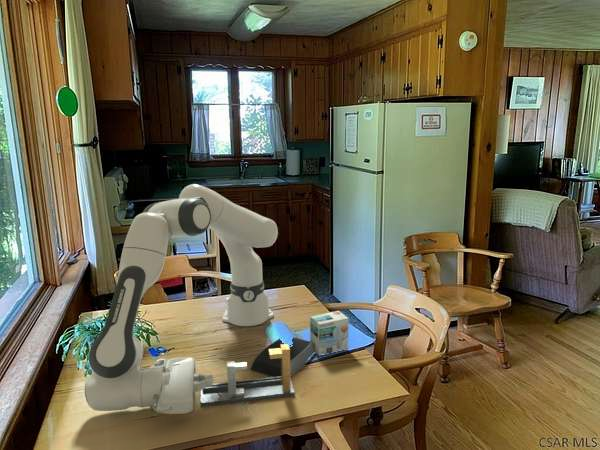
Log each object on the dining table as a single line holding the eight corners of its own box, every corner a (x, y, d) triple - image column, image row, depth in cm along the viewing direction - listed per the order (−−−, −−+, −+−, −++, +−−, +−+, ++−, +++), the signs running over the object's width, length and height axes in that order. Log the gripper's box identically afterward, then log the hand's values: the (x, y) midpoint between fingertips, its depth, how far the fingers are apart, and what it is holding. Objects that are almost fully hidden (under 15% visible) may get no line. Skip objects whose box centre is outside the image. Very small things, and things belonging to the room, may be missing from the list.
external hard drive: (319, 353, 141) (319, 341, 140) (286, 383, 124) (285, 369, 124) (283, 343, 147) (283, 331, 146) (248, 370, 131) (247, 357, 130)
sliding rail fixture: (201, 391, 120) (198, 346, 117) (290, 381, 124) (289, 337, 121) (200, 407, 113) (197, 359, 110) (294, 396, 117) (294, 349, 115)
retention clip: (228, 392, 117) (226, 362, 115) (247, 390, 118) (246, 360, 116) (228, 397, 115) (227, 367, 113) (248, 395, 116) (247, 364, 114)
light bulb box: (318, 357, 137) (318, 324, 135) (309, 347, 143) (309, 315, 141) (349, 349, 142) (349, 317, 139) (338, 340, 148) (339, 310, 145)
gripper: (149, 399, 101) (212, 392, 104) (159, 355, 121) (212, 350, 124) (151, 424, 103) (213, 416, 105) (161, 376, 122) (213, 371, 125)
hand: (212, 380), depth 115 cm, fingers closed
